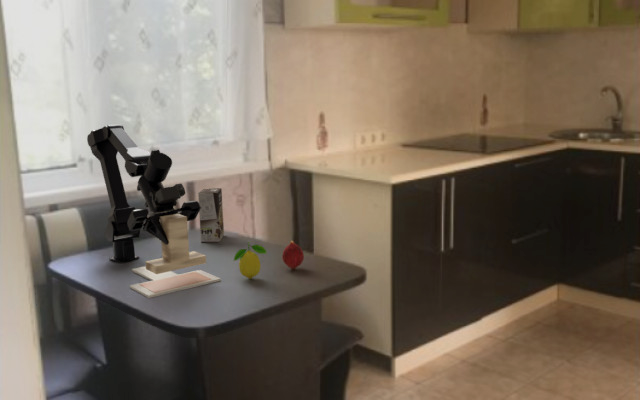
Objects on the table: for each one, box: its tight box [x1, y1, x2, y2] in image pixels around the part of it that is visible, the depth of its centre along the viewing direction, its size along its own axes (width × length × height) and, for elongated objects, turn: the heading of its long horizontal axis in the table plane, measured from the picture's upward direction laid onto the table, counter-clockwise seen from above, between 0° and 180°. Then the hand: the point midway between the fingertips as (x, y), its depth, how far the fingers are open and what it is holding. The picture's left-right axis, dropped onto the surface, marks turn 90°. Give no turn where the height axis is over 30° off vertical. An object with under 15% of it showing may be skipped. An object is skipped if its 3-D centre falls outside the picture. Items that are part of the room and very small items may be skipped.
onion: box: [281, 240, 305, 270], centre depth 182 cm, size 6×6×8 cm
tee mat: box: [129, 265, 221, 299], centre depth 178 cm, size 25×20×1 cm
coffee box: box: [197, 187, 225, 243], centre depth 219 cm, size 9×6×16 cm
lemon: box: [233, 241, 268, 280], centre depth 174 cm, size 7×6×10 cm
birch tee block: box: [145, 214, 207, 274], centre depth 171 cm, size 6×14×13 cm, turn 130°
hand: (177, 241), depth 170 cm, fingers closed on birch tee block, 5 cm apart
